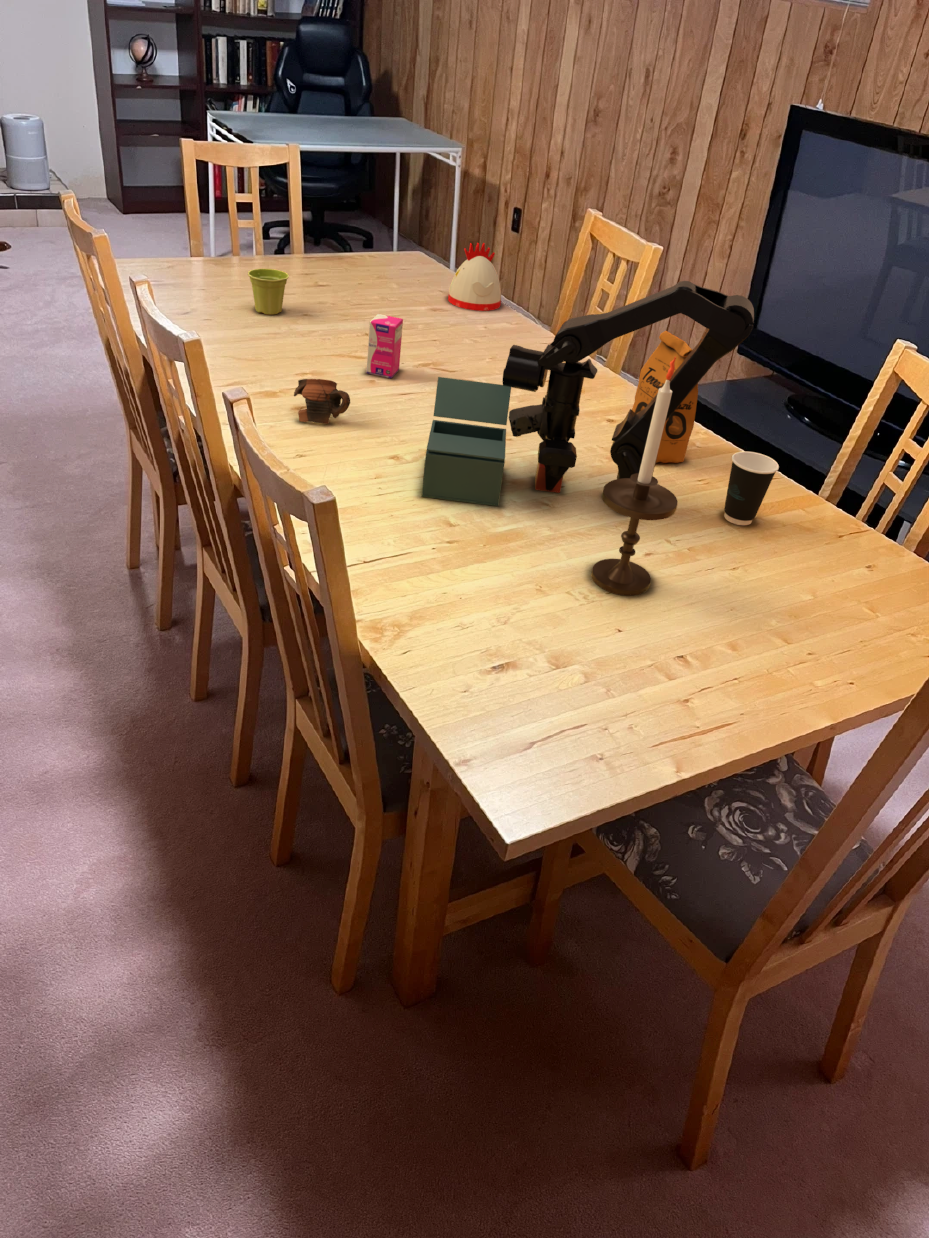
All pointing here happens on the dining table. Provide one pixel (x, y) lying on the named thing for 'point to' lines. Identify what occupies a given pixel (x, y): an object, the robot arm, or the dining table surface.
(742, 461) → the dixie cup
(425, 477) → the carton
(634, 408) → the coffee package
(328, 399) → the pottery mug
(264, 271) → the plant pot
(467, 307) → the kitchen timer
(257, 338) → the dining table surface
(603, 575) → the candlestick
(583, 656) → the dining table surface
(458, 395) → the flap
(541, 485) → the block
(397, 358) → the supplement box
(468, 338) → the dining table surface
